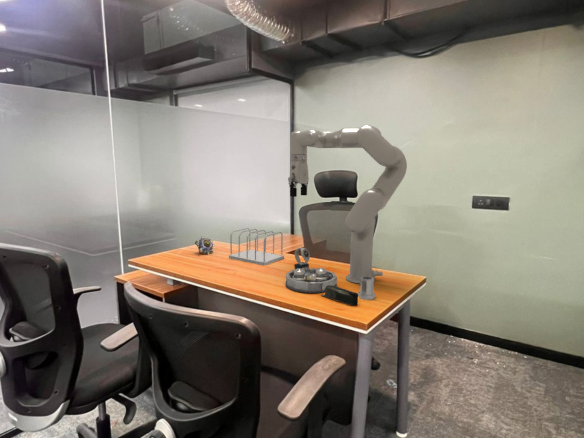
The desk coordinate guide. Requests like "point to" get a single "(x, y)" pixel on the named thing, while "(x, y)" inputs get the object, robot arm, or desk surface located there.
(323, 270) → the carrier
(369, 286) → the grey hollow tube
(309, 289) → the ring gear
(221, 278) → the desk surface
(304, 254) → the watch
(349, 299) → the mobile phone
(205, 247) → the passion flower
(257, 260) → the file sorter
